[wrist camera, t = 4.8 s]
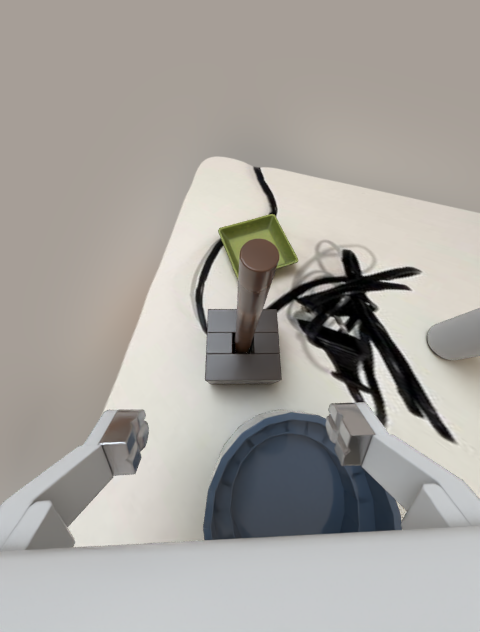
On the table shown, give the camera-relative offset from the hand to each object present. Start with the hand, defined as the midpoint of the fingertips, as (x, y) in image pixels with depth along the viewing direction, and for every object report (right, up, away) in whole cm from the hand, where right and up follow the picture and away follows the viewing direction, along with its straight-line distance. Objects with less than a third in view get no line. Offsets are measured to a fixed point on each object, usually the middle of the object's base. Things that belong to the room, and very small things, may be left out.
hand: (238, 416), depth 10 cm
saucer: (+2, +13, +23) cm, 27 cm away
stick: (0, 0, +18) cm, 18 cm away
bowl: (+5, -13, +13) cm, 19 cm away
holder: (0, 0, +18) cm, 18 cm away
